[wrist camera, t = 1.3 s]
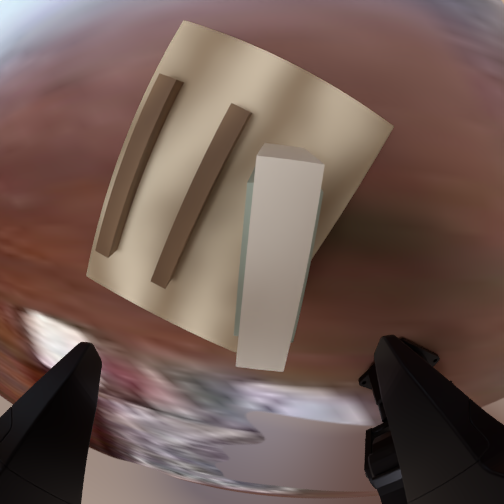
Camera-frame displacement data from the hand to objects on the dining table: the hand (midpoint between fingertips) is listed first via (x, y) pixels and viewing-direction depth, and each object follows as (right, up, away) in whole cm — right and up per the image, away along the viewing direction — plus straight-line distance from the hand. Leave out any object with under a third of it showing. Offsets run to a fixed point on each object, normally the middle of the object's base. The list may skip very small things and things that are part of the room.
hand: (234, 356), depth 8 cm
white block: (+2, +5, +11) cm, 12 cm away
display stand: (-2, +6, +12) cm, 14 cm away
